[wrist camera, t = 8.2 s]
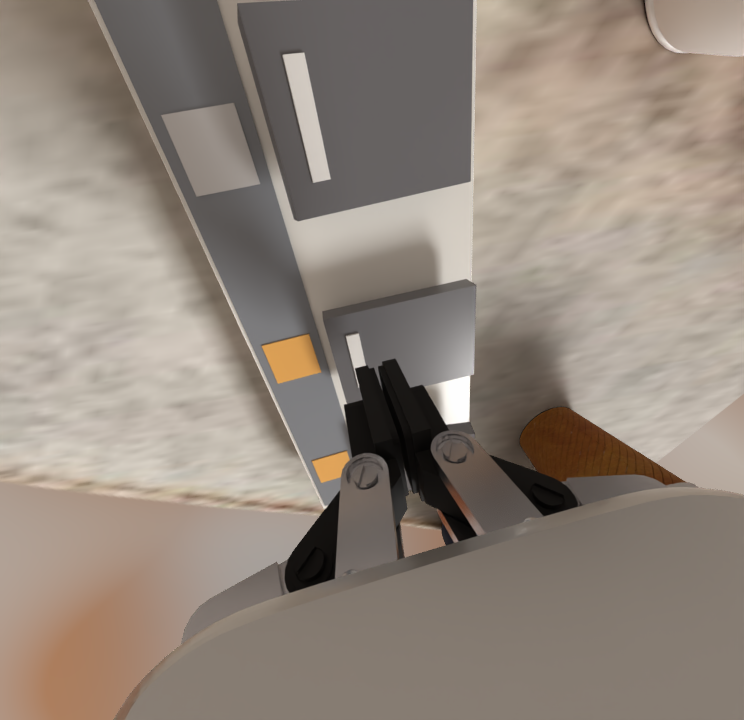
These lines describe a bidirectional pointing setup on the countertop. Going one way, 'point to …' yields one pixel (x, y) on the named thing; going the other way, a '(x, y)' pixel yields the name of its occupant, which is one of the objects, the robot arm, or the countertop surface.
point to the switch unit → (279, 218)
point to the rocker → (363, 96)
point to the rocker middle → (406, 335)
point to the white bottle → (698, 25)
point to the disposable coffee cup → (584, 450)
